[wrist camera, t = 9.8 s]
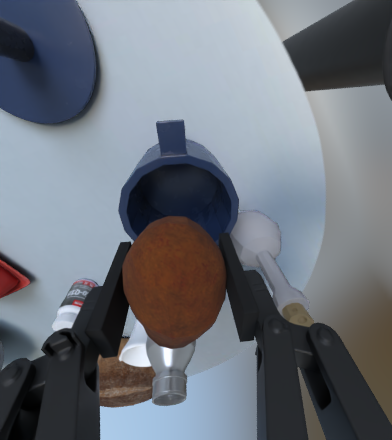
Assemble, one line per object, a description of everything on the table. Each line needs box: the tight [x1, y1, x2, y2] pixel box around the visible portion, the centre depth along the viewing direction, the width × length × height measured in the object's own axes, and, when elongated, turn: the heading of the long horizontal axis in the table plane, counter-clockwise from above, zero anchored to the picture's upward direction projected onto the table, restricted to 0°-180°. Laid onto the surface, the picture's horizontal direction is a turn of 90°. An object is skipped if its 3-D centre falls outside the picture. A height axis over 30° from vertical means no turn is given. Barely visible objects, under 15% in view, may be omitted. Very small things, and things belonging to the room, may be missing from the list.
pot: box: [119, 120, 239, 246], centre depth 24 cm, size 13×18×10 cm
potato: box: [122, 216, 227, 349], centre depth 12 cm, size 7×9×6 cm
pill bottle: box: [52, 279, 98, 331], centre depth 34 cm, size 5×5×8 cm
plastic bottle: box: [146, 336, 196, 406], centre depth 28 cm, size 6×7×20 cm
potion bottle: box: [230, 210, 314, 327], centre depth 26 cm, size 9×9×18 cm
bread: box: [97, 338, 156, 407], centre depth 51 cm, size 26×27×10 cm
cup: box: [119, 318, 151, 367], centre depth 40 cm, size 9×9×10 cm
